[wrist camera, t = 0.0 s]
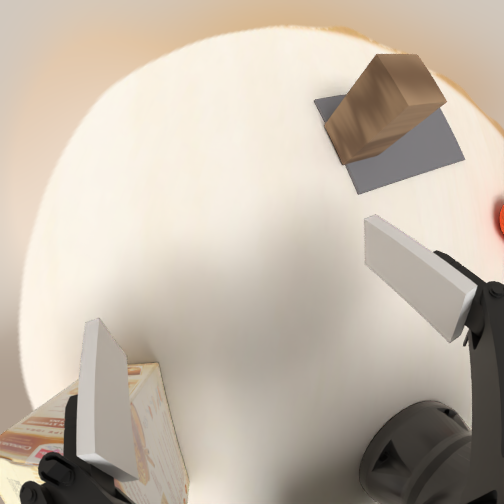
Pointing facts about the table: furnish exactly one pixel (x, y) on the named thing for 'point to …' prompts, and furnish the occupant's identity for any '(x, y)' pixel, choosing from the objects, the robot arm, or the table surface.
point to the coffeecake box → (144, 436)
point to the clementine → (502, 219)
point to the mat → (402, 151)
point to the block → (383, 106)
